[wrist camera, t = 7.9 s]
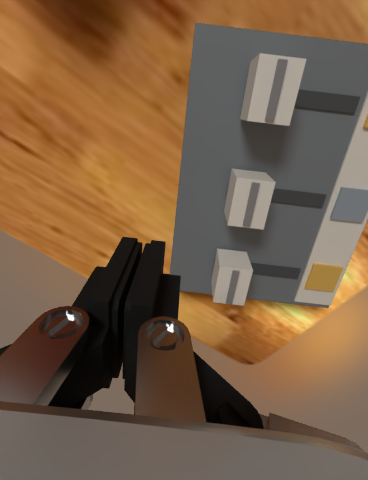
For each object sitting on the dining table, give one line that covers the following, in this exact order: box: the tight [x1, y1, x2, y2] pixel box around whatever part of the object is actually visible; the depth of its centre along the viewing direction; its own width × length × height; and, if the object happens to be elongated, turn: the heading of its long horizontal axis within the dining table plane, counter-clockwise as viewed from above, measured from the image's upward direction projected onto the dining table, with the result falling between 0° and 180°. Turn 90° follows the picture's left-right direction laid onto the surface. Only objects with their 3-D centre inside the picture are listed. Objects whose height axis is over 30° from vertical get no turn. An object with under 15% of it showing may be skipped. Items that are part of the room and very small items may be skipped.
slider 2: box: [224, 169, 276, 230], centre depth 23 cm, size 3×4×4 cm
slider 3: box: [211, 248, 253, 306], centre depth 27 cm, size 3×4×4 cm
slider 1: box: [240, 53, 306, 126], centre depth 20 cm, size 3×4×4 cm
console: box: [170, 23, 368, 308], centre depth 27 cm, size 18×24×4 cm
